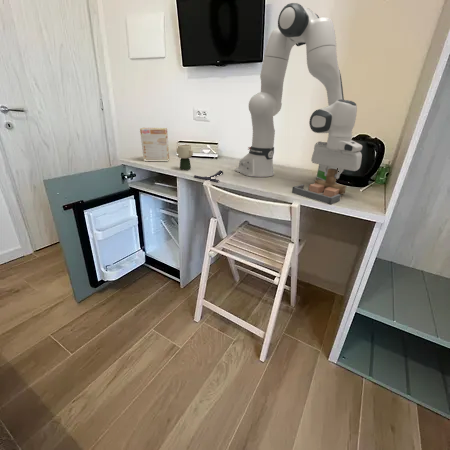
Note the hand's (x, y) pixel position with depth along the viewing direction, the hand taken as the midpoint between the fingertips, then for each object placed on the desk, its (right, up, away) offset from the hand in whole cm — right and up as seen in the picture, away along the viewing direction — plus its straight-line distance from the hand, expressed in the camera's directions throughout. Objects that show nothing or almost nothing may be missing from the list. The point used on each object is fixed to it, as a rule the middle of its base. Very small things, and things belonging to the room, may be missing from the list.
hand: (331, 177), depth 112 cm
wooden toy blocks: (0, -5, +2) cm, 6 cm away
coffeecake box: (-89, +20, +53) cm, 106 cm away
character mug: (-68, +10, +34) cm, 77 cm away
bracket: (-51, +3, +21) cm, 56 cm away
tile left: (-6, -6, +2) cm, 9 cm away
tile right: (-1, -8, -2) cm, 9 cm away
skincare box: (+6, +2, +21) cm, 22 cm away
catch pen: (-9, -9, -4) cm, 13 cm away
